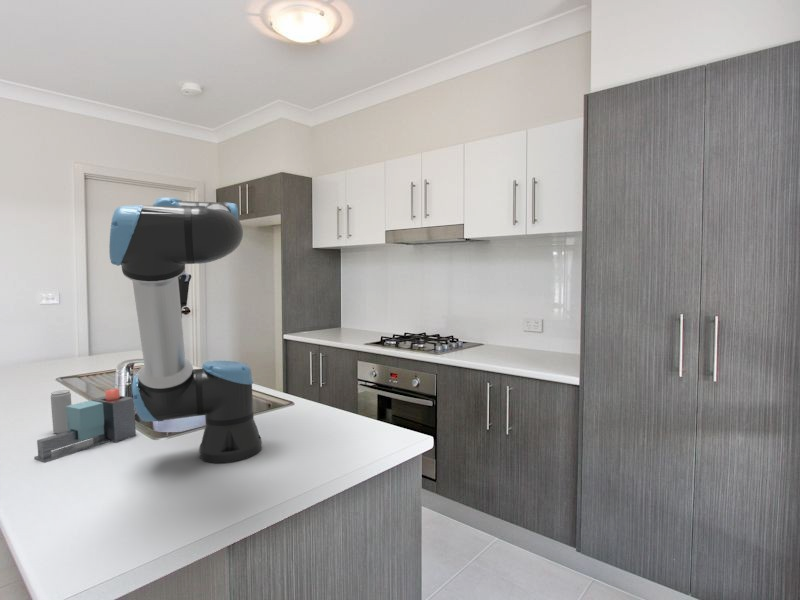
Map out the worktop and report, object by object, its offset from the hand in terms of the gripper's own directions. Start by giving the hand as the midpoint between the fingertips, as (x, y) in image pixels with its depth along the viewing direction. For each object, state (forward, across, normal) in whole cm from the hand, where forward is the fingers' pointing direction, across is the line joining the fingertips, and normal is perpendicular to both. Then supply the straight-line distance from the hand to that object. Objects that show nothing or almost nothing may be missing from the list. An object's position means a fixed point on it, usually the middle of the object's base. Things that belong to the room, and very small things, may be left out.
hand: (176, 330), depth 138 cm
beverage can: (+30, +29, +18) cm, 45 cm away
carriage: (+27, +10, +22) cm, 36 cm away
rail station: (+29, +10, +22) cm, 38 cm away
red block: (+21, +10, +14) cm, 27 cm away
